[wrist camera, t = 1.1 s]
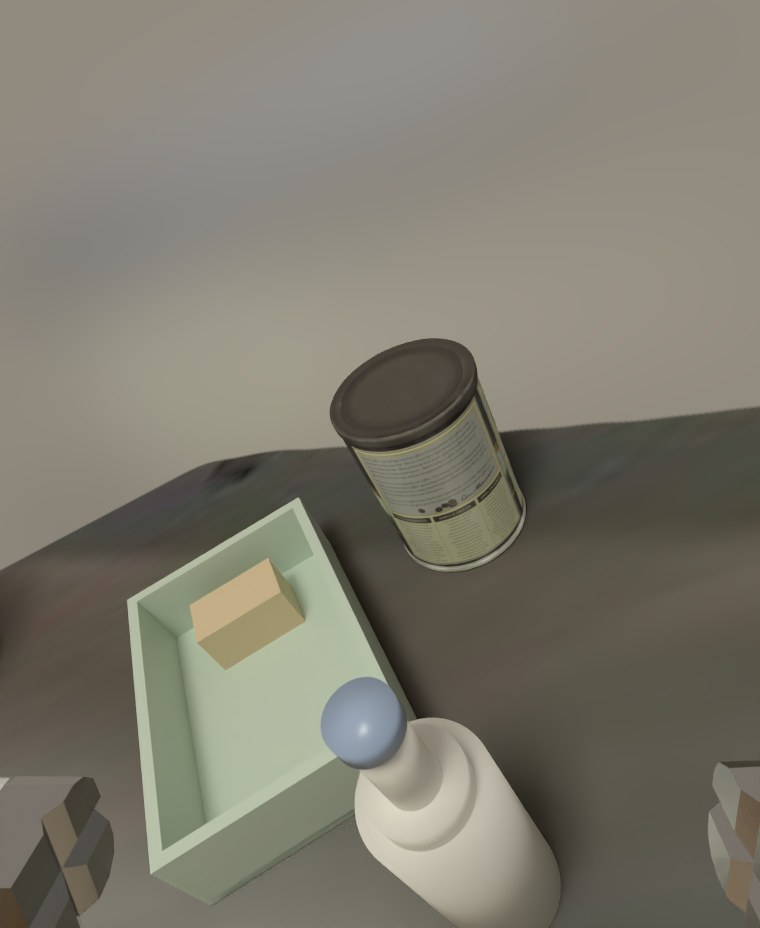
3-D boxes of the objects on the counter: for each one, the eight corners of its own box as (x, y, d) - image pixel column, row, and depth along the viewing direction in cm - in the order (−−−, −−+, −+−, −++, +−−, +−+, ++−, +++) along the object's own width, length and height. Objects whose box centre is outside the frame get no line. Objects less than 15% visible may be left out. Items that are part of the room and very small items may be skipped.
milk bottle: (520, 795, 36) (400, 608, 25) (585, 908, 32) (475, 742, 20) (427, 855, 36) (261, 693, 24) (479, 978, 31) (305, 850, 20)
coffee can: (378, 536, 55) (302, 411, 46) (463, 458, 58) (406, 325, 49) (462, 597, 47) (389, 461, 38) (555, 503, 50) (507, 356, 41)
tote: (330, 543, 56) (298, 497, 53) (438, 761, 39) (402, 715, 36) (170, 640, 55) (127, 600, 52) (211, 905, 39) (150, 874, 35)
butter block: (292, 587, 54) (268, 557, 51) (305, 621, 50) (280, 591, 48) (217, 632, 53) (189, 605, 51) (225, 670, 50) (196, 642, 48)
